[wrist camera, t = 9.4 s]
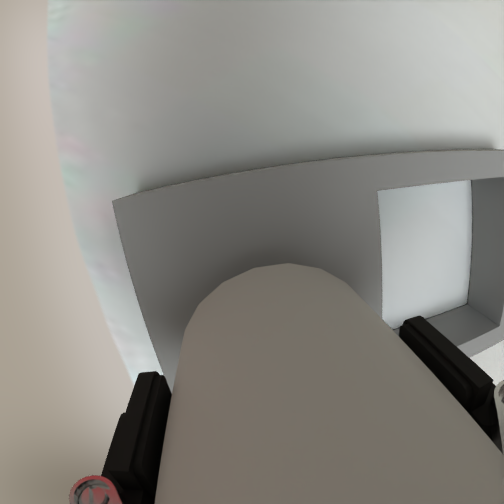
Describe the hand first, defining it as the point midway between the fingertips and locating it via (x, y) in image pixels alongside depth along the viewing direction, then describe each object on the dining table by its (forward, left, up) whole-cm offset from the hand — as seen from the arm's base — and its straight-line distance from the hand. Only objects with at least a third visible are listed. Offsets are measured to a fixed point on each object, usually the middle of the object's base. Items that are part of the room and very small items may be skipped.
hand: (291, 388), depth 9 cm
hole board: (0, +6, -9) cm, 11 cm away
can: (0, 0, -4) cm, 4 cm away
